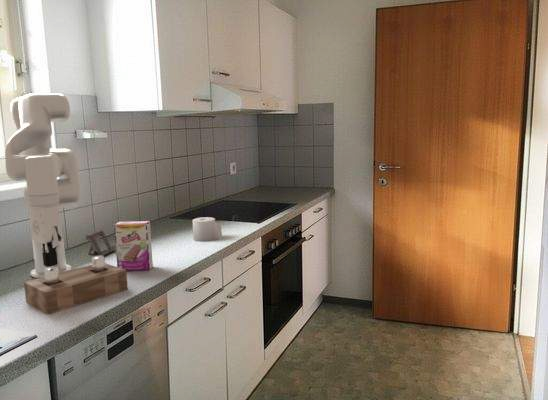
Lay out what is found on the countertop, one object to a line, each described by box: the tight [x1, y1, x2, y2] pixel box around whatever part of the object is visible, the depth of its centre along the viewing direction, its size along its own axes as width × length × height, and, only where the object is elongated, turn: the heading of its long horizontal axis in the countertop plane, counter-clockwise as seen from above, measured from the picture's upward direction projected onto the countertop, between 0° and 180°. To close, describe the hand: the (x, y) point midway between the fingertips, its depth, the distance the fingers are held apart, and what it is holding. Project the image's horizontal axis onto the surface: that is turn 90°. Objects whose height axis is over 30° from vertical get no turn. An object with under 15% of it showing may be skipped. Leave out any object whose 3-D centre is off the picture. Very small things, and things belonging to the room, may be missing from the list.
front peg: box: [44, 267, 60, 286], centre depth 136 cm, size 4×4×6 cm
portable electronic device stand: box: [85, 229, 116, 257], centre depth 187 cm, size 9×8×8 cm
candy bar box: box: [113, 220, 154, 272], centre depth 165 cm, size 11×5×16 cm, turn 92°
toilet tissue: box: [192, 216, 223, 243], centre depth 207 cm, size 9×13×9 cm
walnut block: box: [23, 262, 128, 315], centre depth 141 cm, size 14×24×6 cm, turn 139°
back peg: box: [91, 255, 106, 273], centre depth 146 cm, size 4×4×6 cm
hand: (50, 265), depth 135 cm, fingers closed
